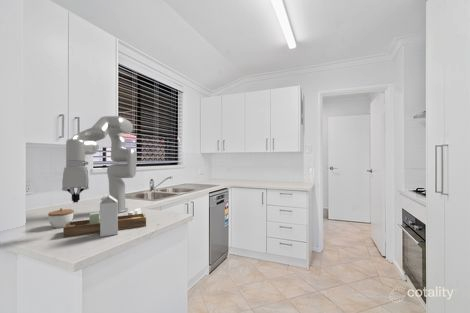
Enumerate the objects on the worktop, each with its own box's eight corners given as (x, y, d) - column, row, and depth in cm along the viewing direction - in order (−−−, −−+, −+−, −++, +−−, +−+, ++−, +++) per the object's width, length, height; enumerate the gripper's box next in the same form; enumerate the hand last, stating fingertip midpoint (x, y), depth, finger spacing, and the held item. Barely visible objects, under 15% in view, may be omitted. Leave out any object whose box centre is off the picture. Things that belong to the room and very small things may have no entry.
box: (68, 231, 112) (68, 222, 112) (144, 221, 127) (144, 213, 127) (63, 237, 103) (63, 227, 103) (146, 226, 118) (145, 217, 118)
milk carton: (117, 230, 112) (117, 191, 112) (117, 234, 106) (117, 193, 106) (101, 232, 109) (100, 193, 109) (100, 237, 103) (99, 195, 103)
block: (90, 222, 115) (90, 213, 115) (99, 221, 117) (99, 212, 117) (89, 224, 112) (89, 214, 112) (98, 223, 113) (98, 213, 113)
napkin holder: (139, 215, 142) (139, 206, 142) (150, 218, 136) (150, 208, 136) (115, 221, 130) (115, 211, 130) (127, 224, 123) (126, 214, 123)
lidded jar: (53, 224, 124) (53, 207, 124) (76, 222, 127) (76, 205, 127) (44, 230, 114) (44, 211, 114) (70, 227, 117) (69, 209, 117)
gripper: (94, 164, 117) (94, 199, 117) (58, 164, 111) (58, 202, 110) (92, 164, 111) (92, 202, 110) (54, 164, 104) (54, 205, 104)
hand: (75, 202), depth 110 cm, fingers closed
